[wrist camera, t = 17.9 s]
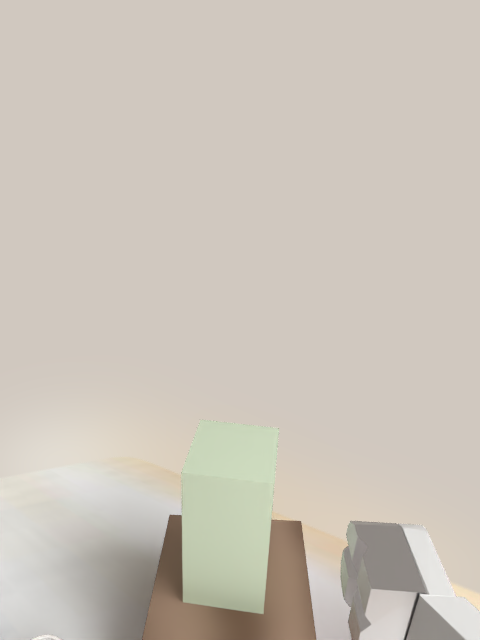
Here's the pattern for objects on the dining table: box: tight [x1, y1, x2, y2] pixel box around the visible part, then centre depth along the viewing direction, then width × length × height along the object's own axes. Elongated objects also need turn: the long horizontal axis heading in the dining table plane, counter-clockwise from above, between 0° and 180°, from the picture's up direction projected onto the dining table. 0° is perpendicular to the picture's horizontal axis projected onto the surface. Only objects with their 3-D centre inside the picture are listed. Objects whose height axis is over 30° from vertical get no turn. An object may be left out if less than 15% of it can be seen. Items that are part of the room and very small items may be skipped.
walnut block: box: [142, 515, 316, 640], centre depth 31 cm, size 10×10×6 cm
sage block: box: [181, 420, 279, 614], centre depth 29 cm, size 5×5×10 cm
